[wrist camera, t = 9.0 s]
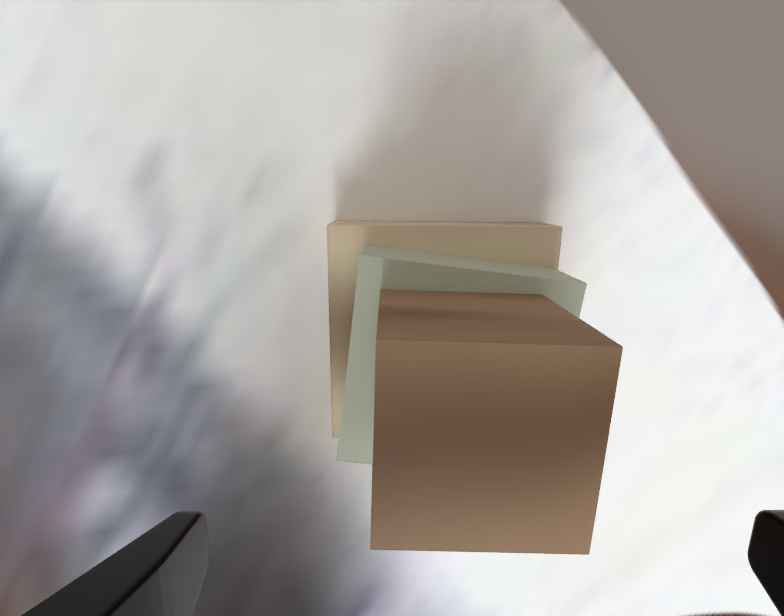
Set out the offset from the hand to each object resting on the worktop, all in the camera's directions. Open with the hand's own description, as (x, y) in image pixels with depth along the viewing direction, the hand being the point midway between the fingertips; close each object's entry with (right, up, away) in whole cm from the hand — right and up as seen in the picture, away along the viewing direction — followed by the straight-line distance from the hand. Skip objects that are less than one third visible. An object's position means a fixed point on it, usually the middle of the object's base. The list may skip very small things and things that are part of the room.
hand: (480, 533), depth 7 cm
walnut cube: (+1, +2, +7) cm, 7 cm away
